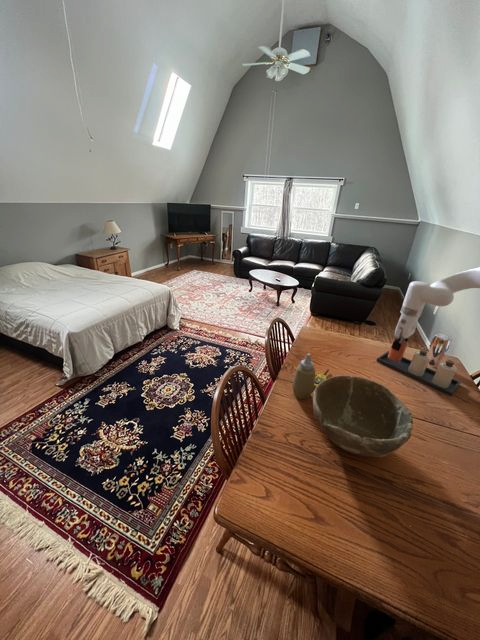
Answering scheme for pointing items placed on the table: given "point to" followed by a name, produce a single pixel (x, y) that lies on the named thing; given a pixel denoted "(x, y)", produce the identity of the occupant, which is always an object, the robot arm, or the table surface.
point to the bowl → (361, 415)
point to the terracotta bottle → (396, 354)
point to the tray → (424, 379)
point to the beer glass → (438, 349)
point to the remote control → (319, 379)
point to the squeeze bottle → (304, 378)
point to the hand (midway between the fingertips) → (398, 347)
